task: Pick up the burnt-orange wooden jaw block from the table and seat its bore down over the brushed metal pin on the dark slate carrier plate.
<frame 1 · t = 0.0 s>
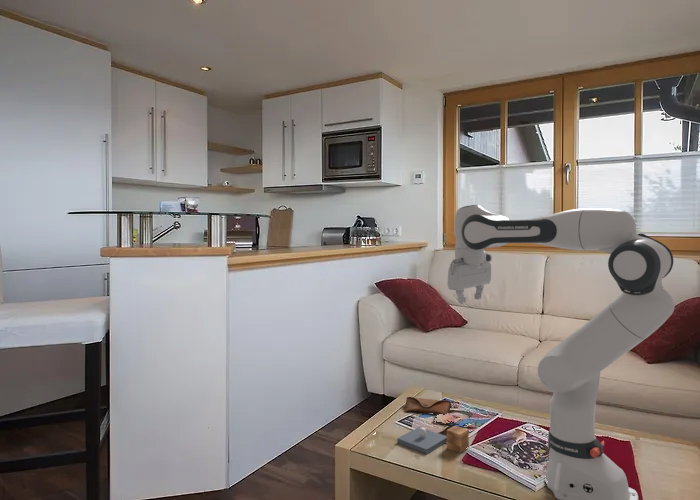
hand: (470, 301, 149), 48 cm above the table, tool pointing down, fingers open, 8 cm apart
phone: (455, 423, 173), on the table, touching sunglasses case
carrier plate: (422, 441, 158), on the table
jaw block: (457, 448, 153), on the table
sunglasses case: (427, 411, 185), on the table, touching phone
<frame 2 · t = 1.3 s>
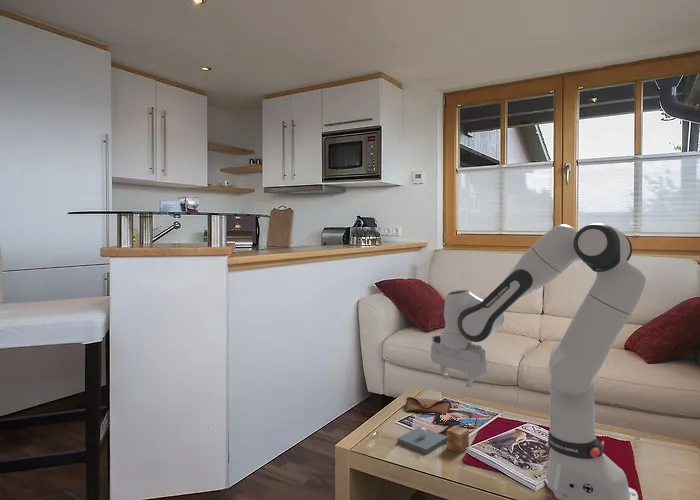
hand: (457, 382, 152), 21 cm above the table, tool pointing down, fingers open, 8 cm apart
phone: (455, 423, 173), on the table
sunglasses case: (427, 411, 185), on the table
everything else where it was.
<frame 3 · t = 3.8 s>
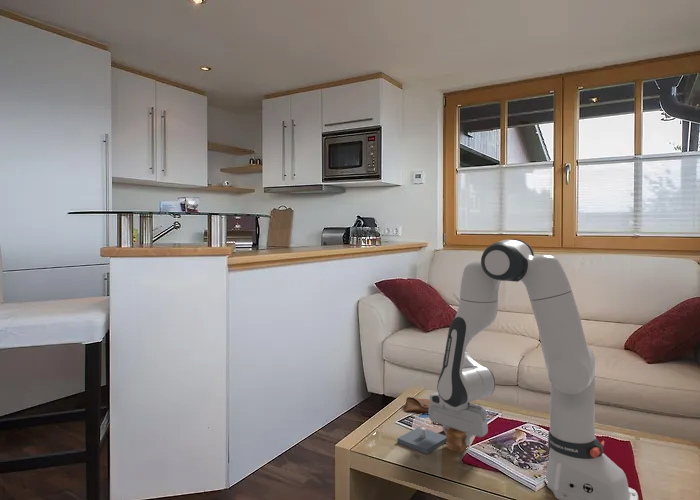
hand: (457, 441, 153), 2 cm above the table, tool pointing down, fingers closed on jaw block, 5 cm apart
jaw block: (457, 447, 153), on the table, touching gripper
everything else where it was.
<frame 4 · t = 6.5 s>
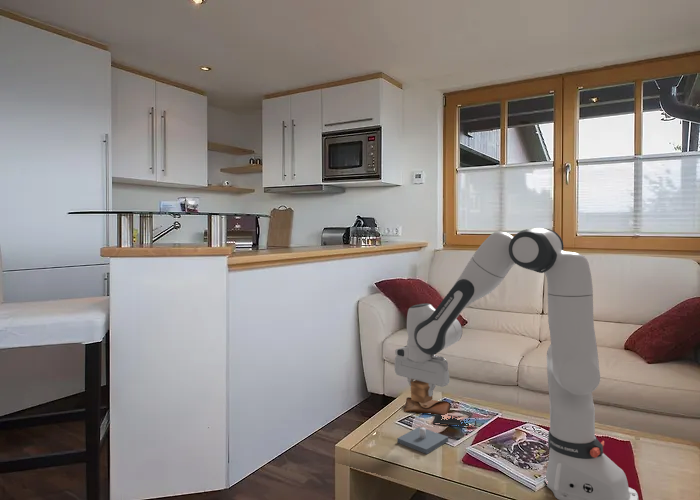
hand: (421, 393, 157), 16 cm above the table, tool pointing down, fingers closed on jaw block, 5 cm apart
jaw block: (421, 399, 157), point 14 cm above the table, touching gripper
everything else where it was.
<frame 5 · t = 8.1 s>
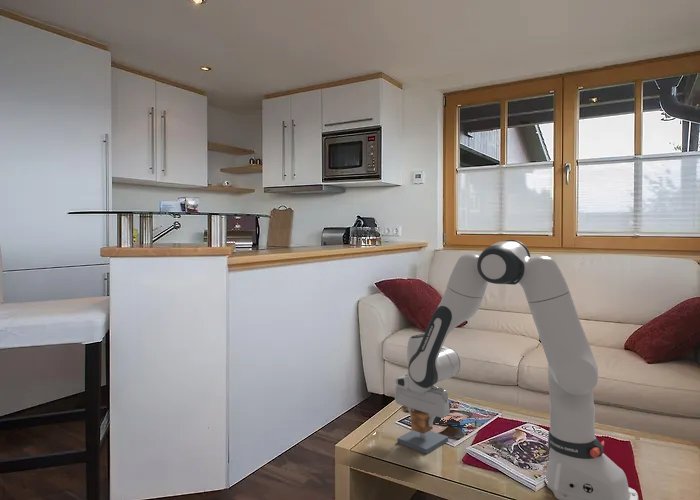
hand: (421, 423, 157), 6 cm above the table, tool pointing down, fingers closed on jaw block, 5 cm apart
jaw block: (422, 429, 158), point 4 cm above the table, touching gripper
everything else where it was.
when the fingers open (5 cm above the table, at t = 9.3 s): jaw block drops 1 cm, resting on carrier plate.
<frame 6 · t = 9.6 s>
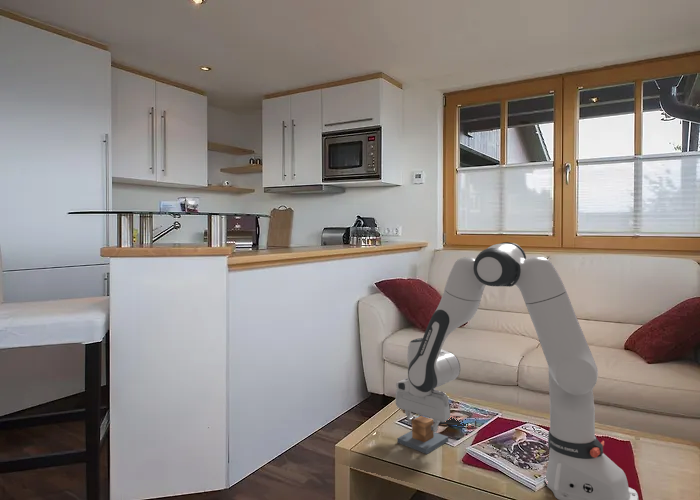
hand: (422, 427, 158), 5 cm above the table, tool pointing down, fingers open, 8 cm apart
jaw block: (422, 437, 158), point 1 cm above the table, touching carrier plate
everything else where it was.
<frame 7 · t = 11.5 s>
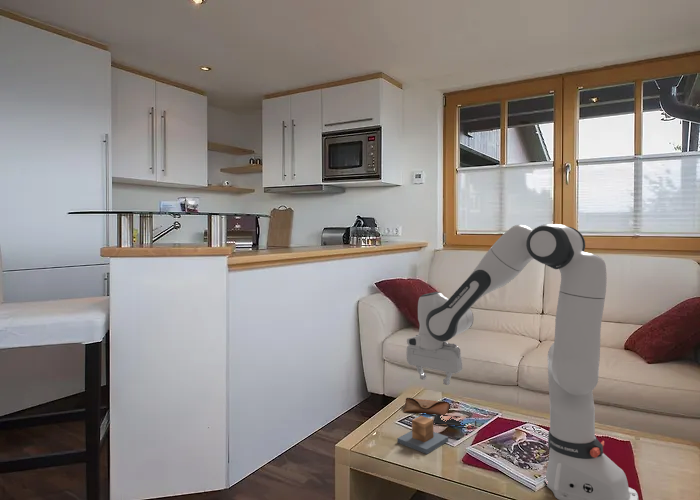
hand: (434, 381, 158), 20 cm above the table, tool pointing down, fingers open, 8 cm apart
nothing on the table moved.
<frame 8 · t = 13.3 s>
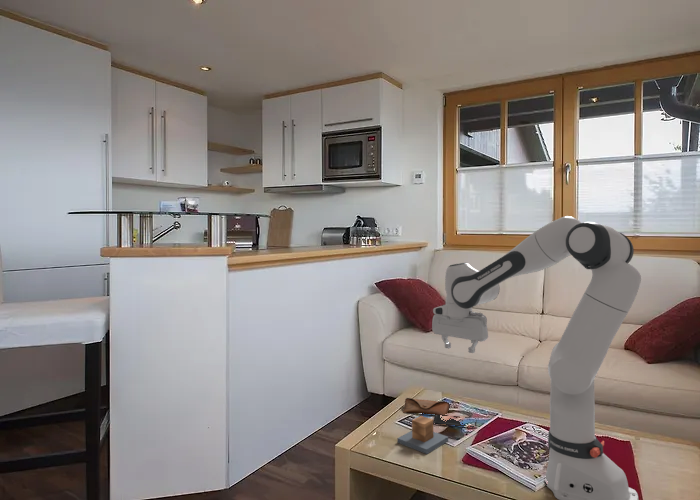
hand: (459, 350, 162), 29 cm above the table, tool pointing down, fingers open, 8 cm apart
at the end: jaw block 0.1 cm off-centre on the carrier plate, point 1.5 cm above the carrier plate's base; jaw block tilted 0°; the gripper is holding nothing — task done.
